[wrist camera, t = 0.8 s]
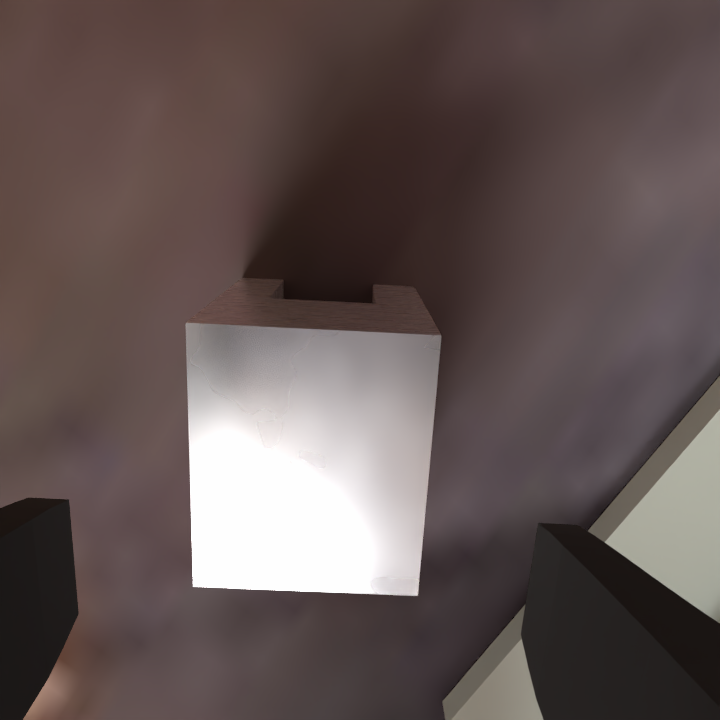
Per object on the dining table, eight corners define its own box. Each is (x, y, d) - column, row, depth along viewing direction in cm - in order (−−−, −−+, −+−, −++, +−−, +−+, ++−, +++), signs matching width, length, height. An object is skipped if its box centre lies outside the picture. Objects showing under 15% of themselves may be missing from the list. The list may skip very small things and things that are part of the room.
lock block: (399, 473, 19) (417, 595, 13) (242, 465, 19) (193, 586, 13) (414, 286, 18) (441, 335, 12) (242, 277, 18) (185, 323, 12)
